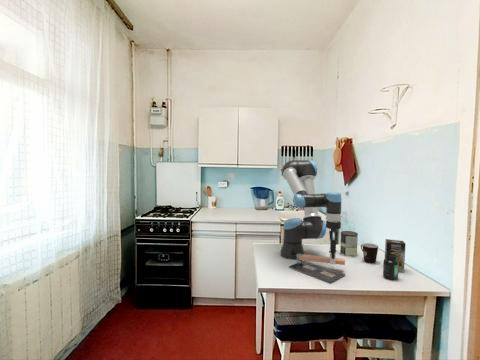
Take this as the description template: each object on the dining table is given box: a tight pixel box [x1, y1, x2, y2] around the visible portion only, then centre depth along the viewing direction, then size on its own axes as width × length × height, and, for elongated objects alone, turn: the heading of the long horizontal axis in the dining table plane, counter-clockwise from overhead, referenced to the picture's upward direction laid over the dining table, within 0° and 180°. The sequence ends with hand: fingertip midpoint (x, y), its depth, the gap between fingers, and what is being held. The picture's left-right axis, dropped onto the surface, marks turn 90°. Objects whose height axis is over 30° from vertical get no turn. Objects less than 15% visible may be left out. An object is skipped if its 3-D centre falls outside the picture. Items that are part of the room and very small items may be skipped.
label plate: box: [288, 259, 346, 284], centre depth 145 cm, size 26×14×4 cm, turn 40°
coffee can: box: [340, 230, 359, 258], centre depth 174 cm, size 10×10×14 cm
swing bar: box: [296, 254, 346, 266], centre depth 150 cm, size 26×4×3 cm, turn 71°
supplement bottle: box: [382, 254, 399, 281], centre depth 138 cm, size 7×7×12 cm
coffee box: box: [384, 238, 406, 274], centre depth 148 cm, size 9×6×16 cm
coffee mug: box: [360, 242, 379, 265], centre depth 162 cm, size 12×9×10 cm
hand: (332, 263), depth 145 cm, fingers closed
